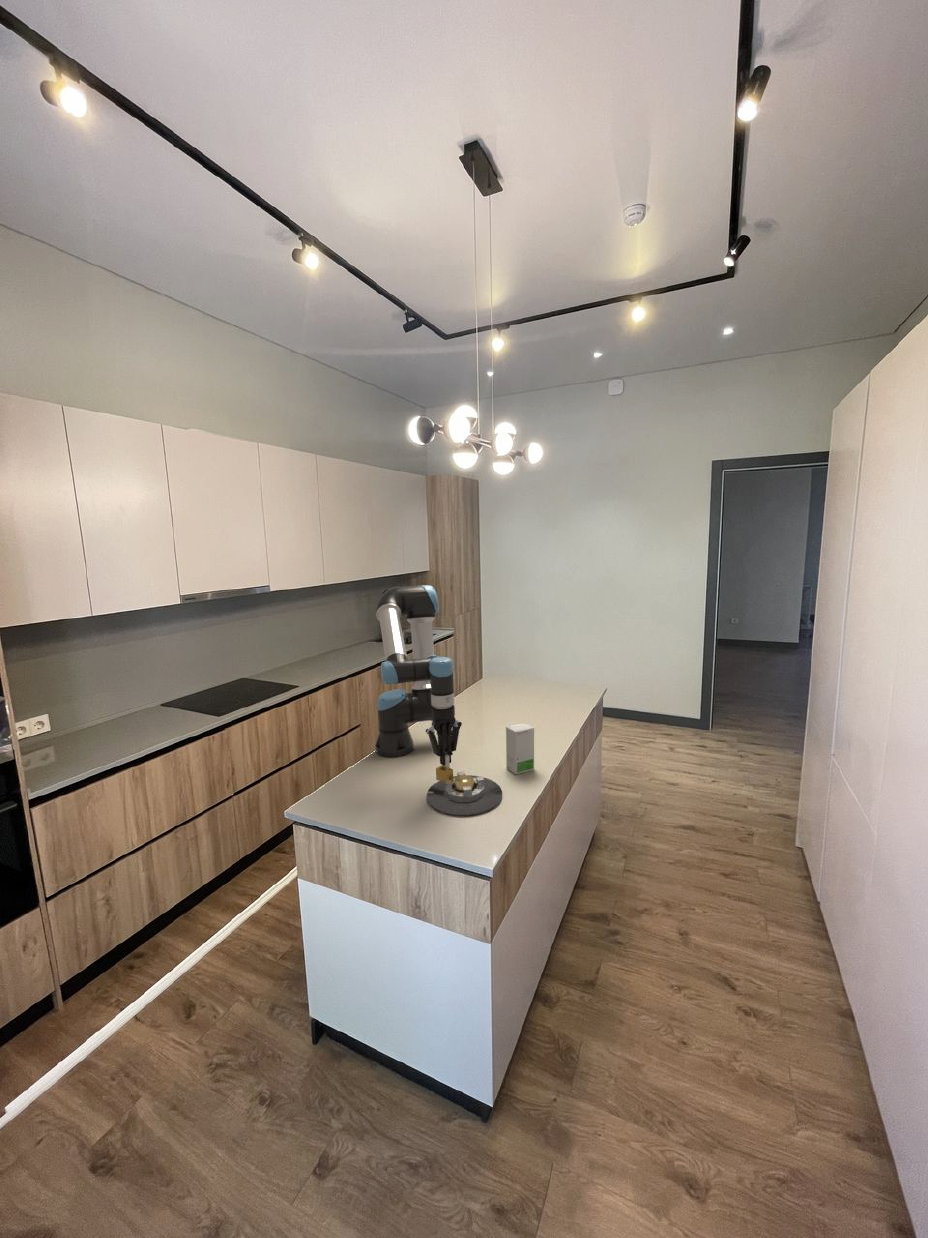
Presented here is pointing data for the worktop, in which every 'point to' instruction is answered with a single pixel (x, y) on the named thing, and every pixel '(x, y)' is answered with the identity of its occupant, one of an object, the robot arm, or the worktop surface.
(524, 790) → the worktop surface
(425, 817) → the worktop surface
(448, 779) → the ring nut
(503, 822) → the worktop surface
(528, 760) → the skincare box
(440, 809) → the bowl
